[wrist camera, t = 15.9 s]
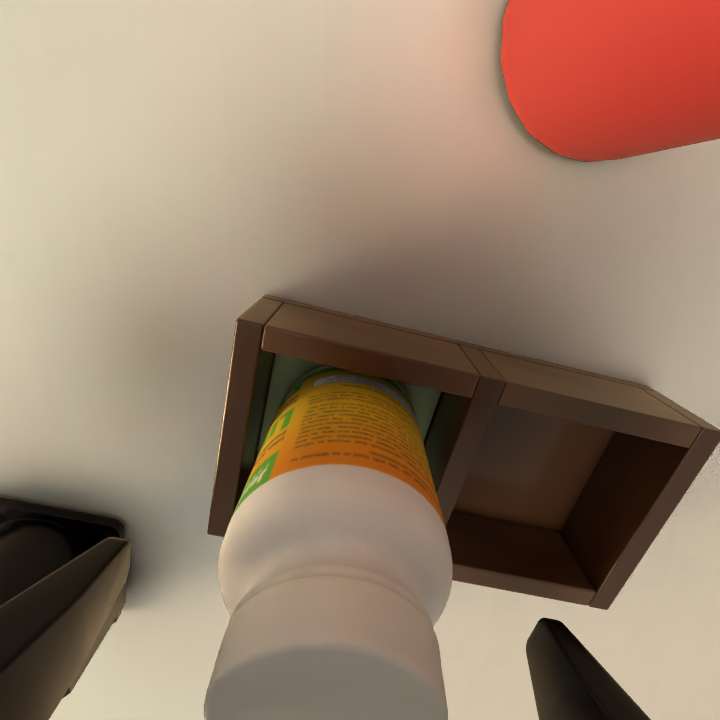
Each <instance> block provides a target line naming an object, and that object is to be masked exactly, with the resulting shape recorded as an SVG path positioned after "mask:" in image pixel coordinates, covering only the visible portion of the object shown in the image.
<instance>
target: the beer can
mask: <svg viewBox="0 0 720 720" xmlns="http://www.w3.org/2000/svg"><path fill="white" fill-rule="evenodd" d="M501 66H502V70H503V74H504V78H505V83H506V87H507V91H508V95H509V99H510V103H511V105H512V106H513V108H514V110H515V111H516V113H517V115H518V116H519V118H520V119H521V121H522V123H523V124H524V126H525V128H526V129H527V131H528V132H529V134H531V135H532V136H533V137H535V138H536V139H537V140H539V141H540V142H541V143H542V144H544V145H545V146H546V147H548V148H549V149H550V150H551V151H553V152H554V153H556V154H560V155H563V156H567V157H571V158H574V159H578V160H581V161H585V162H590V161H601V160H613V159H622V158H627V157H632V156H637V155H642V154H646V153H651V152H656V151H661V150H666V149H671V148H676V147H681V146H686V145H690V144H695V143H700V142H705V141H710V140H715V139H720V0H509V1H508V4H507V8H506V11H505V14H504V18H503V30H502V54H501Z"/></svg>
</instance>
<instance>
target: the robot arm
mask: <svg viewBox="0 0 720 720" xmlns="http://www.w3.org/2000/svg"><path fill="white" fill-rule="evenodd" d="M124 534H125V529H124V526H123V524H122V523H121V522H120V521H118V520H115V519H111V518H106V517H100V516H95V515H90V514H84V513H79V512H74V511H69V510H63V509H58V508H53V507H47V506H42V505H37V504H31V503H26V502H21V501H16V500H10V499H5V498H0V720H49V718H50V717H51V715H52V714H53V712H54V710H55V709H56V707H57V706H58V704H59V702H60V701H61V699H62V698H64V697H65V696H67V695H68V694H69V693H71V691H72V690H73V688H74V686H75V685H76V683H77V681H78V680H79V678H80V676H81V675H82V673H83V672H84V670H85V668H86V667H87V665H88V663H89V662H90V660H91V658H92V657H93V655H94V653H95V652H96V650H97V648H98V647H99V645H100V643H101V642H102V640H103V639H104V637H105V635H106V634H107V632H108V630H109V629H110V627H111V625H112V624H113V623H115V622H116V621H117V619H118V617H119V616H120V614H121V610H122V607H123V606H124V604H125V594H126V579H127V577H128V573H129V569H130V549H131V545H130V542H129V540H126V539H124ZM526 654H527V659H528V664H529V670H530V675H531V680H532V685H533V690H534V696H535V701H536V706H537V711H538V716H539V720H651V719H650V718H649V717H648V716H647V715H646V714H645V713H644V712H643V711H642V710H641V708H640V707H639V706H638V705H637V704H636V703H635V702H634V701H633V700H632V699H631V697H630V696H629V695H628V694H627V693H626V692H625V691H624V690H623V689H622V688H621V686H620V685H619V684H618V683H617V682H616V681H615V680H614V679H613V678H612V677H611V675H610V674H609V673H608V672H607V671H606V670H605V669H604V668H603V667H602V666H601V664H600V663H599V662H598V661H597V660H596V659H595V658H594V657H593V656H592V655H591V653H590V652H589V651H588V650H587V649H586V648H585V647H584V646H583V645H582V644H581V642H580V641H579V640H578V639H577V638H576V637H575V636H574V635H573V634H572V633H571V631H570V630H569V629H568V628H567V627H566V626H565V625H564V624H563V623H562V622H560V621H558V620H554V619H548V618H542V619H540V620H539V621H538V623H537V625H536V626H535V628H534V630H533V631H532V633H531V635H530V637H529V638H528V640H527V644H526Z"/></svg>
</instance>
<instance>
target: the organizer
mask: <svg viewBox="0 0 720 720" xmlns="http://www.w3.org/2000/svg"><path fill="white" fill-rule="evenodd" d="M325 365H328V366H333V367H337V368H341V369H346V370H350V371H355V372H359V373H363V374H368V375H372V376H376V377H381V378H385V379H390V380H394V381H396V382H397V383H398V384H399V385H400V386H401V387H402V388H403V389H404V391H405V392H406V394H407V395H408V397H409V399H410V401H411V403H412V405H413V408H414V411H415V414H416V417H417V421H418V424H419V428H420V432H421V436H422V440H423V444H424V448H425V452H426V456H427V459H428V463H429V467H430V471H431V475H432V479H433V483H434V486H435V490H436V494H437V497H438V501H439V504H440V508H441V512H442V516H443V519H444V523H445V527H446V531H447V535H448V541H449V546H450V550H451V556H452V569H453V574H452V580H454V581H459V582H465V583H470V584H475V585H481V586H486V587H491V588H496V589H502V590H507V591H512V592H518V593H523V594H528V595H534V596H539V597H544V598H549V599H555V600H560V601H565V602H571V603H576V604H581V605H588V606H590V607H594V608H600V609H605V610H607V609H608V608H609V607H610V605H611V604H612V602H613V601H614V599H615V598H616V596H617V595H618V593H619V592H620V590H621V589H622V587H623V586H624V584H625V583H626V581H627V580H628V578H629V577H630V575H631V574H632V572H633V571H634V569H635V568H636V566H637V565H638V563H639V562H640V560H641V559H642V557H643V556H644V554H645V553H646V551H647V550H648V548H649V547H650V545H651V544H652V542H653V541H654V539H655V538H656V536H657V535H658V533H659V532H660V530H661V529H662V527H663V526H664V524H665V523H666V521H667V520H668V518H669V517H670V515H671V514H672V512H673V511H674V509H675V508H676V506H677V505H678V503H679V502H680V500H681V499H682V497H683V496H684V494H685V493H686V491H687V490H688V488H689V487H690V485H691V484H692V482H693V481H694V479H695V478H696V476H697V475H698V473H699V472H700V470H701V469H702V467H703V466H704V464H705V463H706V461H707V460H708V458H709V457H710V455H711V454H712V452H713V451H714V449H715V448H716V446H717V445H718V443H719V442H720V430H719V429H718V428H716V427H714V426H713V425H711V424H709V423H708V422H706V421H705V420H703V419H701V418H700V417H698V416H696V415H695V414H693V413H691V412H690V411H688V410H687V409H685V408H683V407H682V406H680V405H678V404H677V403H675V402H673V401H672V400H670V399H668V398H667V397H665V396H664V395H662V394H660V393H659V392H657V391H655V390H654V389H652V388H650V387H648V386H644V385H640V384H636V383H631V382H627V381H623V380H619V379H615V378H611V377H607V376H602V375H598V374H594V373H590V372H586V371H582V370H577V369H573V368H569V367H565V366H561V365H557V364H552V363H548V362H544V361H540V360H536V359H532V358H527V357H523V356H519V355H515V354H511V353H507V352H503V351H498V350H494V349H490V348H486V347H482V346H478V345H473V344H469V343H465V342H461V341H457V340H453V339H448V338H444V337H440V336H436V335H432V334H428V333H423V332H419V331H415V330H411V329H407V328H403V327H399V326H394V325H390V324H386V323H382V322H378V321H374V320H369V319H365V318H361V317H357V316H353V315H349V314H344V313H340V312H336V311H332V310H328V309H324V308H320V307H315V306H311V305H307V304H303V303H299V302H295V301H290V300H286V299H282V298H278V297H274V296H270V295H264V296H263V297H262V298H261V299H260V300H259V301H257V302H256V303H255V304H254V305H253V306H252V307H250V308H249V309H248V310H247V311H246V312H245V313H243V314H242V315H241V316H240V317H239V318H238V319H237V320H236V326H235V333H234V341H233V348H232V355H231V363H230V370H229V377H228V385H227V392H226V399H225V407H224V414H223V421H222V429H221V436H220V443H219V451H218V458H217V465H216V473H215V480H214V487H213V495H212V502H211V509H210V516H209V524H208V531H207V532H208V534H210V535H215V536H220V537H225V534H226V531H227V528H228V525H229V523H230V520H231V518H232V515H233V513H234V511H235V509H236V506H237V504H238V502H239V500H240V497H241V495H242V493H243V490H244V488H245V486H246V483H247V481H248V478H249V476H250V474H251V471H252V469H253V467H254V465H255V462H256V460H257V458H258V455H259V453H260V450H261V448H262V446H263V443H264V441H265V439H266V436H267V434H268V431H269V429H270V427H271V424H272V422H273V420H274V417H275V414H276V412H277V410H278V407H279V405H280V403H281V401H282V399H283V397H284V396H285V394H286V393H287V391H288V390H289V389H290V387H291V386H292V385H293V384H294V383H295V382H296V381H297V380H298V379H299V378H301V377H302V376H303V375H305V374H306V373H308V372H310V371H312V370H314V369H316V368H319V367H322V366H325Z"/></svg>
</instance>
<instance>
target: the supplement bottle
mask: <svg viewBox="0 0 720 720" xmlns="http://www.w3.org/2000/svg"><path fill="white" fill-rule="evenodd" d="M452 574H453V569H452V556H451V550H450V546H449V541H448V535H447V531H446V527H445V523H444V519H443V516H442V512H441V508H440V504H439V501H438V497H437V494H436V490H435V486H434V483H433V479H432V475H431V471H430V467H429V463H428V459H427V456H426V452H425V448H424V444H423V440H422V436H421V432H420V428H419V424H418V421H417V417H416V414H415V411H414V408H413V405H412V403H411V401H410V399H409V397H408V395H407V394H406V392H405V391H404V389H403V388H402V387H401V386H400V385H399V384H398V383H397V382H396V381H394V380H390V379H385V378H381V377H376V376H372V375H368V374H363V373H359V372H355V371H350V370H346V369H341V368H337V367H333V366H328V365H325V366H322V367H319V368H316V369H314V370H312V371H310V372H308V373H306V374H305V375H303V376H302V377H301V378H299V379H298V380H297V381H296V382H295V383H294V384H293V385H292V386H291V387H290V389H289V390H288V391H287V393H286V394H285V396H284V397H283V399H282V401H281V403H280V405H279V407H278V410H277V412H276V414H275V417H274V420H273V422H272V424H271V427H270V429H269V431H268V434H267V436H266V439H265V441H264V443H263V446H262V448H261V450H260V453H259V455H258V458H257V460H256V462H255V465H254V467H253V469H252V471H251V474H250V476H249V478H248V481H247V483H246V486H245V488H244V490H243V493H242V495H241V497H240V500H239V502H238V504H237V506H236V509H235V511H234V513H233V515H232V518H231V520H230V523H229V525H228V528H227V531H226V534H225V537H224V539H223V542H222V545H221V550H220V554H219V562H218V579H219V586H220V590H221V594H222V597H223V600H224V603H225V605H226V607H227V609H228V611H229V613H230V615H231V618H230V620H229V624H228V627H227V629H226V632H225V635H224V638H223V641H222V644H221V647H220V650H219V653H218V656H217V659H216V663H215V666H214V670H213V673H212V676H211V680H210V683H209V686H208V689H207V693H206V698H205V703H204V718H205V720H448V709H447V702H446V695H445V688H444V682H443V675H442V669H441V659H440V651H439V644H438V640H437V637H436V634H435V632H434V629H433V626H434V625H435V623H436V622H437V620H438V619H439V617H440V616H441V614H442V612H443V610H444V608H445V605H446V603H447V600H448V597H449V594H450V590H451V584H452Z"/></svg>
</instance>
